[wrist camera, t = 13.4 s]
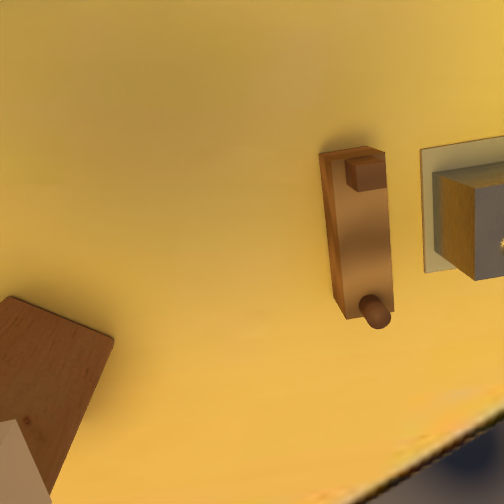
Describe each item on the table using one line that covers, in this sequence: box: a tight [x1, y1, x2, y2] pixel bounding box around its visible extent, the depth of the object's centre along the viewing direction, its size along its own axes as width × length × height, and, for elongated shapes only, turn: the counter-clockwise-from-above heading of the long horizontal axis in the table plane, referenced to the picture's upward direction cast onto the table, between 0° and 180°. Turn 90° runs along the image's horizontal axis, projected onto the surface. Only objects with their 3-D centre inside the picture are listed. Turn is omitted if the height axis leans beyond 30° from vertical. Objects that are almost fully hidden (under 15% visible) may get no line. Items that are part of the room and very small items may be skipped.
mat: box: [420, 136, 504, 273], centre depth 41 cm, size 11×8×1 cm
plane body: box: [319, 146, 394, 329], centre depth 37 cm, size 13×4×8 cm, turn 9°
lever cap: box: [432, 161, 504, 281], centre depth 37 cm, size 7×6×8 cm
